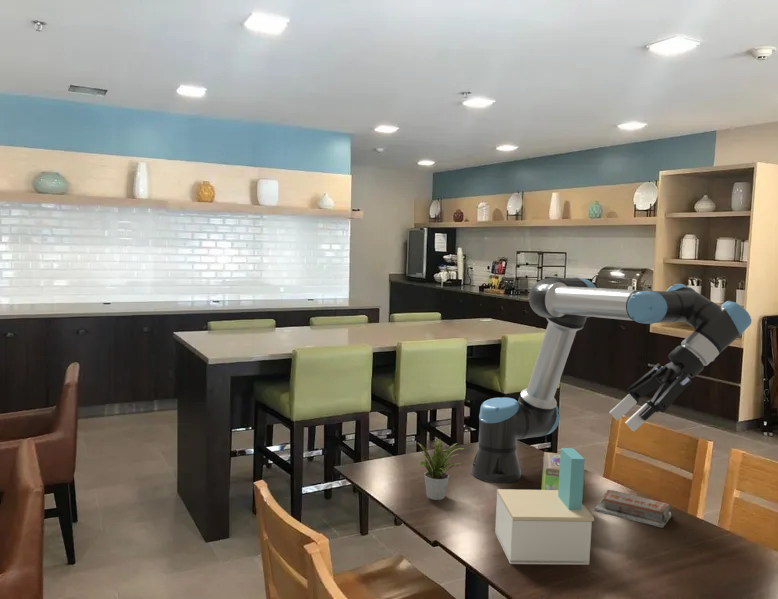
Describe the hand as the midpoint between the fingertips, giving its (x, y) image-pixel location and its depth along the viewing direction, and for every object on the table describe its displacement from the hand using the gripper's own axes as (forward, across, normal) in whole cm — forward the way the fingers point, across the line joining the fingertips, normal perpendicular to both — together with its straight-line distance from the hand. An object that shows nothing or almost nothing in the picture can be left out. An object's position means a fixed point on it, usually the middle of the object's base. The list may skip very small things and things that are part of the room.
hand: (621, 421), depth 154 cm
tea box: (+27, +20, -17) cm, 37 cm away
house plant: (+49, +30, +5) cm, 57 cm away
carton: (+34, 0, -9) cm, 36 cm away
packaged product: (+13, +21, -32) cm, 40 cm away
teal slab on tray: (+27, 0, -2) cm, 27 cm away
